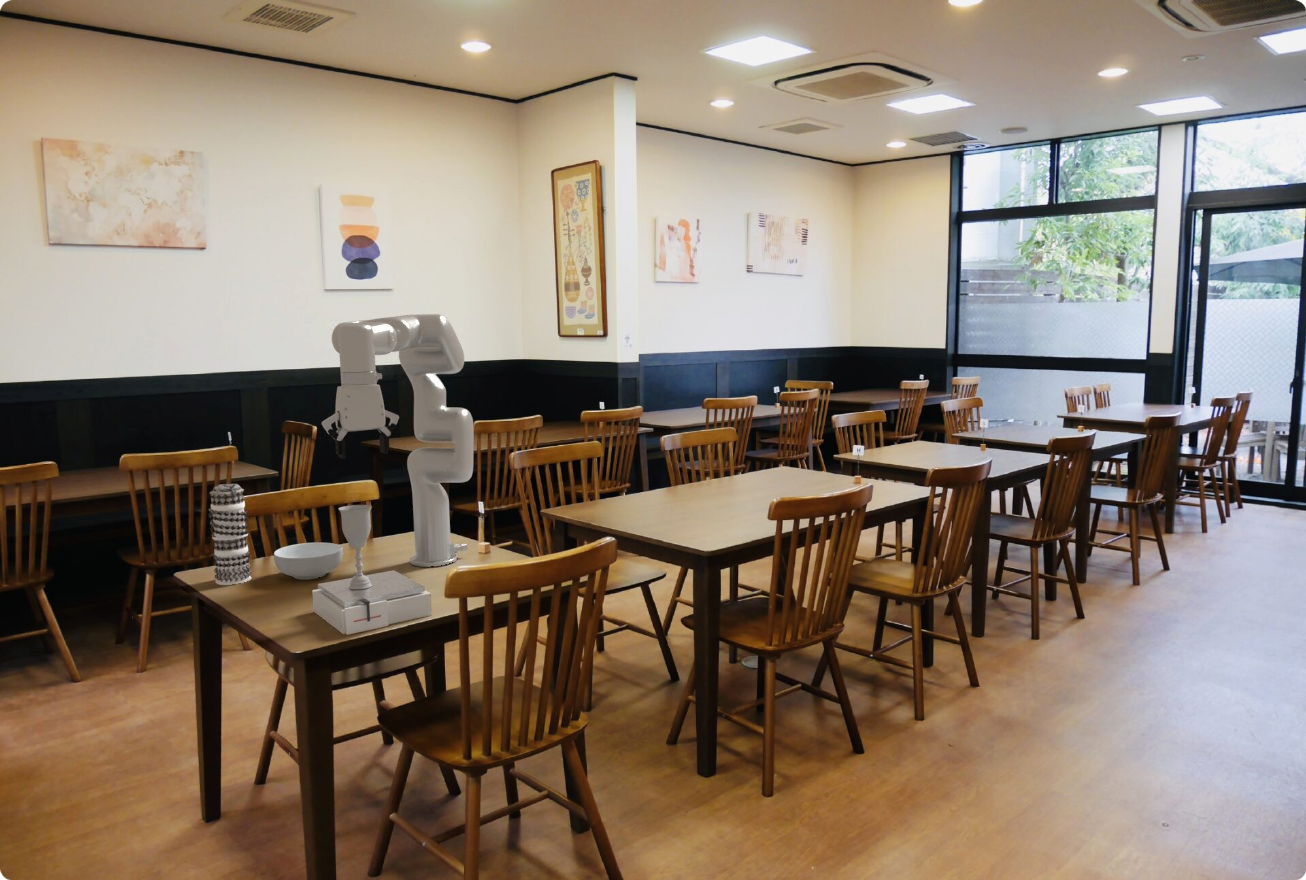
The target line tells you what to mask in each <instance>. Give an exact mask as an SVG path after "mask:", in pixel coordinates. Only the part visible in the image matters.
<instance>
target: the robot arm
mask: <svg viewBox="0 0 1306 880" xmlns="http://www.w3.org/2000/svg"><path fill="white" fill-rule="evenodd" d="M331 343H332V346H333V348H334V350H335V351H336V352H337V353H338V354H339V368H340V369H339V370H340V383H341V386H340V385H339V386H337V388H336V397H335V412H334V413H333V414H332V415H331V416H328V417H327V418H326V419H324V420H323V421H321V425H322V427H323V429H324V430H325V431H326V433H327V434H328V435H329V436H330V437H332V439H333V440H334V441H335V453H336V455H338V458H340V459H343V460H344V459H346V458H347V450H346V449H347V447H346V440H344V437H345V436H346V435H347V434H348V432H358V431H368V430H369V431H370V430H377V431H378V432H379V433H380V435H379V436H378V441H379V453H381V454H383V455H384V454H385V455H387V454H388V453H389V449H390V436H391V434H392V432H393V431H394V430H395V428H396V427H397V424H398V421H399V419H400V416H399V414H396V413H394V412H391V411H388V410H386V409H385V404H384V398H383V394H382V390H381V386H380V384H377V383H378V381H379V380H382V379H383V374H382V372H381V373H379V372H377V369H376V367H377V366H376V356H384V355H388V354H390V353H395V352H396V353H397V352H398V360H399V363H400V365H401V367H402V369H403V371H404V372H405V374H406V376H407V378H408V379H409V381H410V383H411V386H412V390H413V398H414V399H413V430H414V431H413V432H414V436H415V438H416V439H417V440H418V441H419V442H422V443H453V445H454V446H453V447H438V446H436V447H434V446H433V447H431V446H430V447H429V446H427V447H418V448H417V449H414V450H413V451H411V452H410V453H409V455H408V456H407V460H406V461H407V462H406V463H407V464H406V466H407V471H408V475H409V479H410V485H411V492H412V506H413V507H412V511H413V512H412V513H413V531H414V533H413V534H414V549H415V555H413V556H411V557H410V558H409V562H410V564H411V565H412V566H415V567H421V568H422V567H423V568H424V567H425V568H427V567H429V568H430V567H431V566H434V567H441V565H442V566H446V565H445V564H447V565H450V564H449V563H451V564H453V563H455V562H456V561H457V560H458V555H457V554H458V552H464V551H468V548H469V547H468V544H467V543H461V544H459V543H452V541H451V524H450V501H449V494H448V493H447V491H446V490H445V487H443V485H441V483H447V484H448V483H449V484H450V483H465V482H466V483H467V482H468V481H469V480H470V479H471V478H472V476H473V472H474V441H475V439H474V437H475V436H474V435H475V434H474V431H475V429H474V419H473V416H472V414H471V412H470V411H469V410H468V409H467V408H464V407H447V389H446V387H445V386H444V383H443V382H442V381H441V379H440V378H439V376H437V375H453V374H457V373H460V372H461V371H462V369H463V368H464V365H465V354H464V349H463V347H462V344H461V342H460V340H459V338H458V336H457V333H456V331H455V329H454V328H453V325H452V324H451V322H450V321H449V319H447V318H446V317H445V316H444V315H442V314H438V313H437V314H436V313H432V314H404V315H398V316H390V317H389V316H388V317H379V318H378V317H377V318H373V319H365V320H354V321H346V322H345V321H344V322H339V324H337V325H336V326H334V329H333V330H332V334H331ZM386 418H388V419H390V420H389V423H388V424H387V425H386ZM334 423H335V426H336V429H337V430H336V431H335V430H334V429H333V427H332V424H334ZM452 562H453V563H452Z"/></svg>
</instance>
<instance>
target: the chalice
mask: <svg viewBox="0 0 1306 880" xmlns="http://www.w3.org/2000/svg"><path fill="white" fill-rule="evenodd" d="M372 508H373V506H372V505H369V504H353V505H346V506H345V505H344V506H341V507H338V511H339V512H340V516H341V529H342V533H343V535H344V537H345V539H346V541H347V542H348V544H349V547H350V548H351V549H355V556H354V559H355V561H356V564H355V565H354V567H356V571H357V572H356V574H355V575H354V576H352V577H351V578H352V579H351V580H352V581H351V583H350V586H349V589H356V590H357V589H365V588H369V587H371V586H372V584H371V583H370V580H369V579H368V577H367V576H366V575H367V574H364V573H363V571H362V568H363V566H364V564H363V563H362V558H363V556H362V554H361V549H362V548H364V547H365V546H366V543H367V540H368V539H369V537H370V536H369V535H370V532H371V528H372V525H371V523H372V522H371V510H372Z"/></svg>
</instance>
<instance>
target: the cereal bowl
mask: <svg viewBox="0 0 1306 880" xmlns="http://www.w3.org/2000/svg"><path fill="white" fill-rule="evenodd" d="M343 553H344V550H343V546H342V545H340V544H337V543H331V542H305V543H304V542H303V543H298V544H297V543H296V544H291V545H287V546H283V547H280V548H278V549H276V550H275V551H274V552H273V559H274V564H275V567H276V568H277V569H278V571H280V572H281V573H282V574H284V575H287V576H290V577H293V578H294V579H296V580H304V581H305V580H313V579H319V578H318V577H320V578H322V577H325V576H326V575H327V574H328V573H331V572H333V571H335V570H336V569H337V568H338V567H339V566H340V565H341V562H342V561H343Z"/></svg>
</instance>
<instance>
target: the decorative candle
mask: <svg viewBox="0 0 1306 880" xmlns="http://www.w3.org/2000/svg"><path fill="white" fill-rule="evenodd" d="M244 491H245V489H244V488H242V487H241V486H240V485H239V484H238V483H223V484H218V485H215V486H214V487H213V488H212V490H211V491H210V492H209V495H210V501H211V503H210V507H209V508H207V511H208V512H209V513H208V517H209V519H211V520H210V522H209V525H210V526H211V527H210V528H209V530H210V531H211V533H212V535H211V537H212V538H211V539H212V540H213V541H214V550H213V551H214V555H213V558H212V559H213V560H214V562H213V565H214V566H216V567H215V568H214V570H213V572H214V573H215V574H214V579H216V580H215V584H216V583H217V584H216V585H218V584H219V586H233V585H232V584H236V585H239V584H238V583H241V584H244V582H245V583H248V582H249V581H251V580H252V576H251V574H252V571H251V568H252V565H250V561H251V558H250V555H251V553H250V551H249V547H248V546H249V545H248V544H247V542H248V541H247V537H248V535H249V533H250V532H249V531H248V530H247V529H248V528H249V525H248V524H246V522H247V521H249V517H248V516H247V515H248V514H249V512H248V511H247V510H245V507H246V503H245V502H246V501H245V500H244ZM247 581H248V582H247Z"/></svg>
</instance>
